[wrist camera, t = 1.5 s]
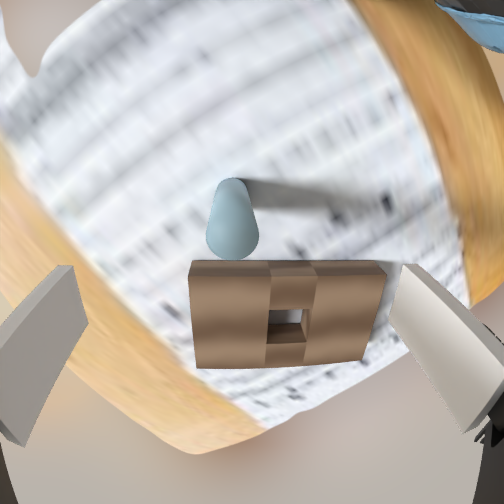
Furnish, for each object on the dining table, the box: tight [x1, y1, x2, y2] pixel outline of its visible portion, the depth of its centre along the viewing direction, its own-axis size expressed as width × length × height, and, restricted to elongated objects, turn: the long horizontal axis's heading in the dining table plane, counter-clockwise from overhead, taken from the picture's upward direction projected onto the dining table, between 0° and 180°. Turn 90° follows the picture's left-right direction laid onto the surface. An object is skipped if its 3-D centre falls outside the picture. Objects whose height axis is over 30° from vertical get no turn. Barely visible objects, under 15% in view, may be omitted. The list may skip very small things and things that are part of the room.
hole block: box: [188, 261, 387, 369], centre depth 32 cm, size 12×20×4 cm, turn 88°
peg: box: [206, 178, 259, 260], centre depth 22 cm, size 3×3×12 cm
